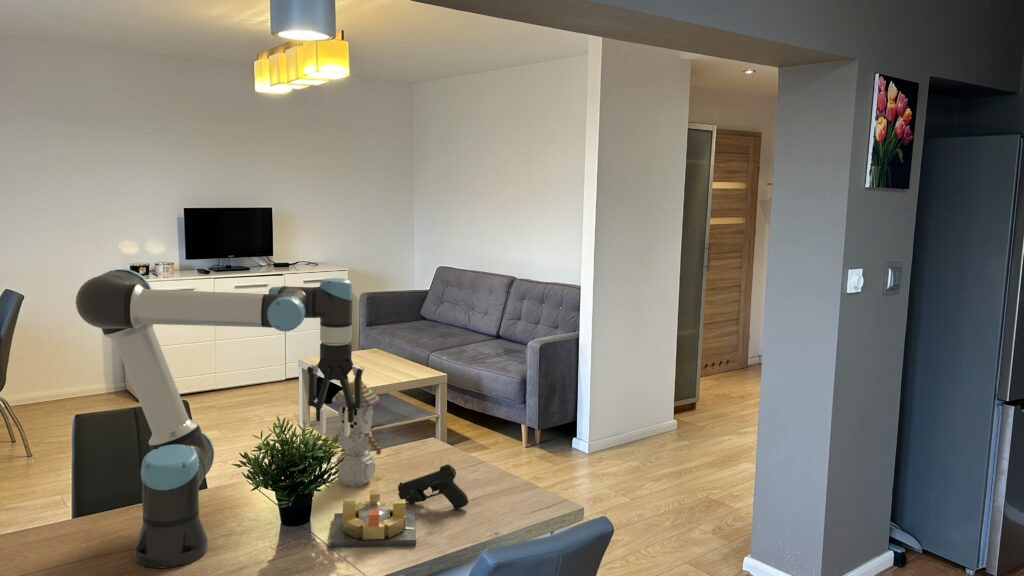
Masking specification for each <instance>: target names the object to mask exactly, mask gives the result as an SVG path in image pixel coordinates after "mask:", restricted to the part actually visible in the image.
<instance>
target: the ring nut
mask: <svg viewBox="0 0 1024 576" xmlns="http://www.w3.org/2000/svg"><path fill="white" fill-rule="evenodd" d="M369 491H370V492H369V500H366V501H364V502H361V501H360V502H358V503H357V501H356V499H355V500H353V499H352V500H343V502H342V513H343V518H342V531H344V533H346V534H348V535H350V536H353V537H355V538H357V539H359V538H361V537H363V540H365V539H384V536H385V537H388V538H390V537H392V536H394V535H396V534H398V533H400V532H402V531H404V529H405V518H406V517H405V511H407V509H406V506H407V505H406V504H407V503H406V502H407V501H406V499H400V498H399V499H397V498H396V499H392V501H387V502H386V501H385V500H381V489H369ZM371 505H380V506H385V507H387V508H389V510H390V518H388V519H386V520H384V521H379V510H369V522H365V521H363V520H360V519H358V515H359V510H360V509H361V508H363V507H366V506H371Z"/></svg>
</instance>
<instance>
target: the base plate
mask: <svg viewBox="0 0 1024 576" xmlns="http://www.w3.org/2000/svg"><path fill="white" fill-rule="evenodd" d="M369 510H379V521H384V520H386V519H388V518H390V510H389V508H387V507H385V506H380V505H371V506H366V507H363V508H361V509H360V510H359V515H358V519H360V520H363V521H365V522H369ZM405 517H406V518H405V529H404V531H402V532H400V533H398V534H396V535H394V536H392V537H390V538H388V537H385V536H384V539H365V540H363V537H361V538H359V539H357V538H355V537H353V536H350V535H348V534H346V533H344V531H342V518H343V512H335V513H334V516H333V521H332V528H331V533H330V539H329V549H352V548H354V549H355V548H357V549H358V548H380V547H381V548H384V547H385V548H386V547H389V548H390V547H412V546H413V547H415V546H417V532H416V530H417V529H416V517H415V511H413V510H412V511H410V510H409V511H407V510H406V511H405Z"/></svg>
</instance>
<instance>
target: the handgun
mask: <svg viewBox="0 0 1024 576" xmlns="http://www.w3.org/2000/svg"><path fill="white" fill-rule="evenodd" d="M456 476H457V472H456V469H455V468H454V466H452V465H451V464H445V465H441V466H440V468H439V469H438V470H437V471H434V472H430V473H428V474H425V475H422V476H418V477H416V478H413V479H410V480H408V481H405V482H399V484H398V485H397V489H398V492H397V494H398V497H399V499H406V502H408V504H409V505H410V506H411V505H414V504H415V503H420V502H425V501H426V499H429V498H432V497H437V496H439V495H443V496H444V497H445V498H446V499H447V500H448V501H449V502H450V503H451V506H452V507H453V509H454V511H457V510H459V509H461V508H463V507H466V506H467V505H468V504H469V499H468V496H467V494H466V493H465V491H464V490H462V489H461V488H460V487H459V486H458V485H457V483H455V482H454V480H455V478H456ZM429 488H430V489H431V492H432V493H431V494H429V495H427V494H426V493H425V491H427V490H428V489H429ZM437 491H438V492H437ZM434 492H436V493H434Z"/></svg>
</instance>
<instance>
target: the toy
mask: <svg viewBox="0 0 1024 576" xmlns="http://www.w3.org/2000/svg"><path fill="white" fill-rule="evenodd" d="M348 382H349V381H348ZM349 386H350V389H351V393H352V397H353V401H354V403H355V378H353V380H352V381H350V382H349ZM380 401H381V396H379V395H376V393H374V391H373V390H372V389H371V388H368V386H367V385H366V383H364V381H363V380H362V405H361V406H360V407H359V408H356V409H354V420H353V422H352V423H350V434H349V435H348V436H347V437H344V421H345V410H346V409H347V404H346V400H345V397H344V393H343V389H341V390H339V391H338V393H336V394H335V395H334V396H333V397H332V399H331V404H332V405H336V406H339V407H338V408H339V410H338V412H337V415H339V417H338V420H339V421H338V422H339V423H340V428H341V430H340V431H338V433H336V434H335V435H334V436H332V437H333V438H331V439H330V440H331V441H332V442H333V443H335V445H336V444H338V445H339V446H340V448H341V450H343V449H344V450H345V451H344V450H343V452H341V453H340V455H338V456H337V458H336V460H335V462H334V464H335V463H336V462H338V461H339V460H340V459H342V458H343V456H344V455H345V457H344V460H343V461H342V462H341V463H340V465H339V466H338V467H337V468H335V467H334V471H335V470H337V469H340V470H341V471H340V472H339V473H338V475H337V477H336V479H338V481H339V483H341V485H345V486H349V487H356V488H357V487H363V486H364V485H365V484H367V483H368V482H369V481H370V480H372V479H373V477H374V474H375V473H376V462H375V458H374V456H373V455H372V454H371V452H370V451H369V450H370V447H371V448H373V451H374V452H375V453H376V455H377V456H378V455H381V454H382V447H381V446H379V443H378V442H376V439H374V437H373V435H372V433H373V432H371V430H370V429H369V428H371V427H372V426H373V415H374V410H373V406H376V405H377V404H380Z"/></svg>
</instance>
